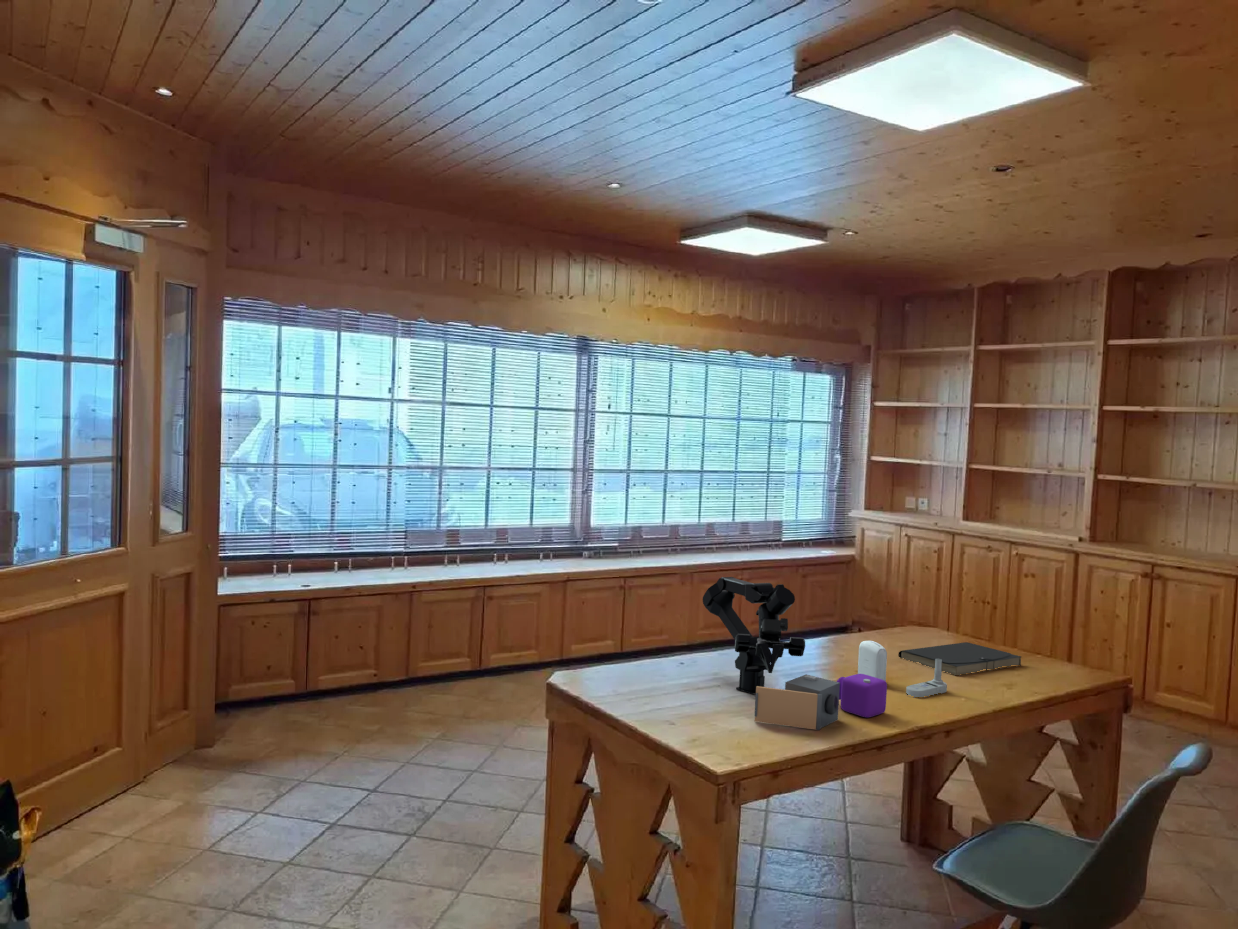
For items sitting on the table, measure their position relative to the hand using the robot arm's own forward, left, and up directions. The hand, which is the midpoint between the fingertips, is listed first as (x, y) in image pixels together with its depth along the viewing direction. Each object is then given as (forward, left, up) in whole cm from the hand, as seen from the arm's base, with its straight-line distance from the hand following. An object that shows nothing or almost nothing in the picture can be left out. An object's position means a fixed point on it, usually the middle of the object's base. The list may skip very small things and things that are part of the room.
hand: (770, 672), depth 233 cm
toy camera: (+16, +21, -11) cm, 28 cm away
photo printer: (+6, +50, -11) cm, 52 cm away
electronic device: (+22, +52, -11) cm, 58 cm away
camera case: (+11, +4, -11) cm, 16 cm away
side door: (+9, -6, -11) cm, 15 cm away
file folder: (+16, +97, -12) cm, 99 cm away
